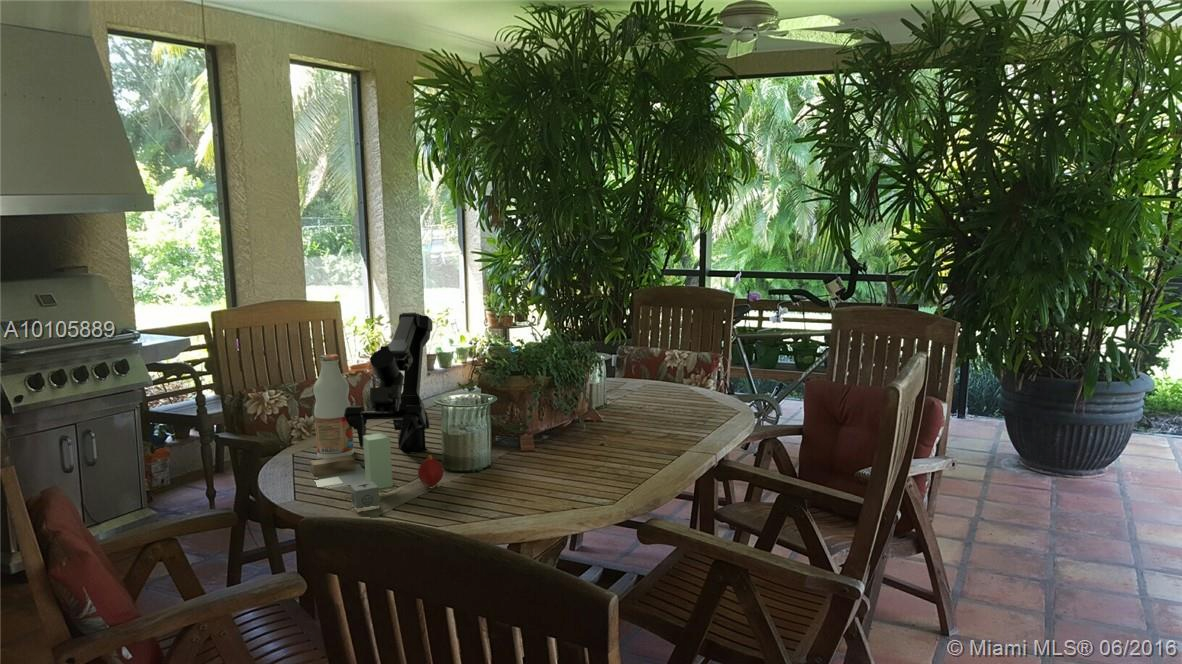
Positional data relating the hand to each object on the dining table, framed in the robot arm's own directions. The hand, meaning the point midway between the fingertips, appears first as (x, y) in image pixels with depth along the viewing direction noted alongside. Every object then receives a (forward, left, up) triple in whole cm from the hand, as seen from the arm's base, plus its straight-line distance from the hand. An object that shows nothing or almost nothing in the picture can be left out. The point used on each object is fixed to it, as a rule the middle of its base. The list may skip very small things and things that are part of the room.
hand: (380, 446), depth 196 cm
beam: (+8, -15, -9) cm, 19 cm away
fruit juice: (+4, -31, -10) cm, 33 cm away
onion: (-10, +7, -10) cm, 16 cm away
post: (+1, +2, -10) cm, 10 cm away
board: (+8, -10, -10) cm, 16 cm away
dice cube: (+7, +12, -10) cm, 18 cm away
